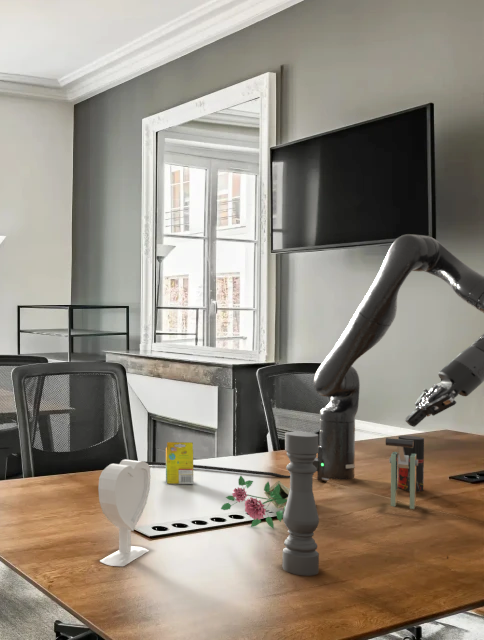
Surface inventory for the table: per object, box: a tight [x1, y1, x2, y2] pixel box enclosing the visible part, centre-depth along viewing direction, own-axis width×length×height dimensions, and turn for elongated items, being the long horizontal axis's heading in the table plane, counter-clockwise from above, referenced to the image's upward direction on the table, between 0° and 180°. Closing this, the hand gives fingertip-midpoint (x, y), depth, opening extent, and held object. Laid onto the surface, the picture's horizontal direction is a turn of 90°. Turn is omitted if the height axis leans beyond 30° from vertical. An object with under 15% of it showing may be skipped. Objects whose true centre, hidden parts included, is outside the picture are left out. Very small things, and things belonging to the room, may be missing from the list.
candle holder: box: [282, 431, 320, 577], centre depth 136 cm, size 6×6×25 cm
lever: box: [385, 437, 413, 469], centre depth 173 cm, size 15×6×2 cm, turn 147°
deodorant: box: [397, 435, 425, 493], centre depth 195 cm, size 6×6×15 cm
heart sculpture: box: [97, 458, 152, 567], centre depth 143 cm, size 16×5×18 cm, turn 144°
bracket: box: [388, 451, 418, 510], centre depth 178 cm, size 10×9×14 cm
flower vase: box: [220, 474, 290, 530], centre depth 167 cm, size 12×12×35 cm
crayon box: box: [165, 441, 195, 485], centre depth 206 cm, size 7×3×12 cm, turn 84°
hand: (409, 423), depth 168 cm, fingers closed
